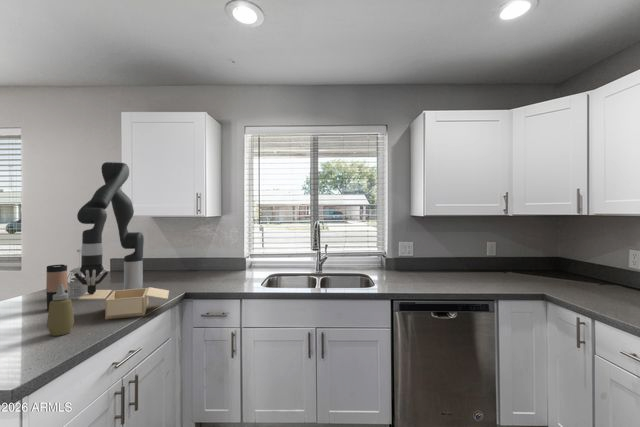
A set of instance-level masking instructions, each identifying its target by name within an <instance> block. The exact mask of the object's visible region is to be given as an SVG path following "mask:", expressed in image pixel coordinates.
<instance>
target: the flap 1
mask: <svg viewBox="0 0 640 427" xmlns="http://www.w3.org/2000/svg"><path fill="white" fill-rule="evenodd" d="M112 292H113V290H112V289H96V292H95V293H94V294H89V293H88V292H86V293H85V294H84V295H82V296H81V297H80V298H78V300H106V299H107V298H108V297H109V296H110V294H111V293H112Z"/></svg>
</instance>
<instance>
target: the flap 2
mask: <svg viewBox="0 0 640 427" xmlns="http://www.w3.org/2000/svg"><path fill="white" fill-rule="evenodd" d="M169 293H170V290H167V289H162V288H156V287H150V286H149V287H148V291H147V294H146V296H148V298H149V297H150V298H157V299H163V300H169V299H168V298H169Z"/></svg>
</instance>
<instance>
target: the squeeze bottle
mask: <svg viewBox="0 0 640 427" xmlns="http://www.w3.org/2000/svg"><path fill="white" fill-rule="evenodd" d="M68 297H69V293H68V292H67V293H65V291H64V288H63V284H59V285H58V289H57V293H56V294H55V295H53V301H51V302H50V303H49V311H47V313H48V314H47V320H46V328H47V330H48V332H49V334H50V336H53V337H57V336H59V337H60V336H63V335H64V336H65V335H67V334H70V333H71V331H72V328H73V326H74V323H75V317H74V310H73V302H72V299H69V298H68Z"/></svg>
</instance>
